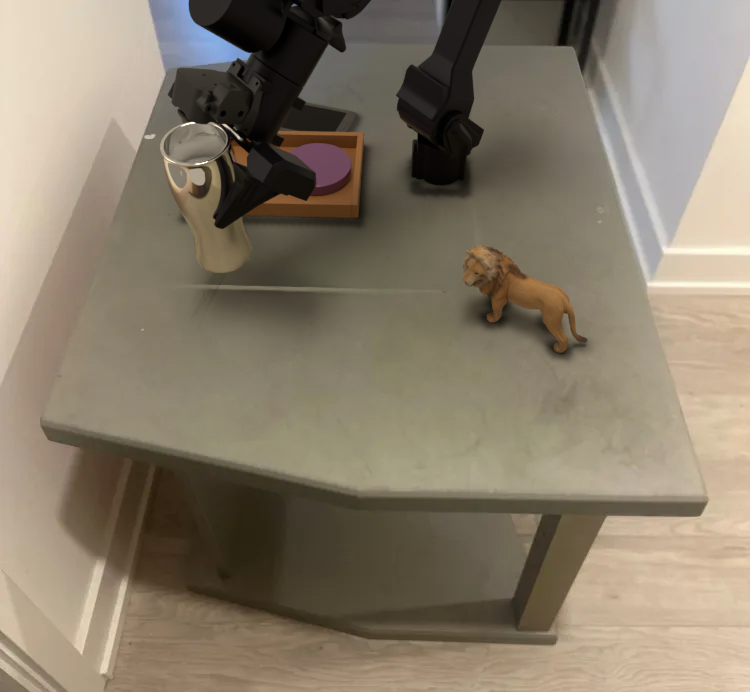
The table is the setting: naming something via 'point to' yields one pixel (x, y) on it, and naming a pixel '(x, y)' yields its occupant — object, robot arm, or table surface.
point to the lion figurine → (518, 291)
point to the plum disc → (326, 166)
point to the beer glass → (205, 191)
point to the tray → (316, 206)
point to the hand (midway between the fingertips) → (200, 208)
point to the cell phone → (318, 119)
